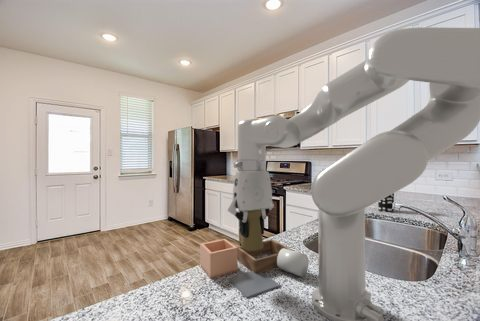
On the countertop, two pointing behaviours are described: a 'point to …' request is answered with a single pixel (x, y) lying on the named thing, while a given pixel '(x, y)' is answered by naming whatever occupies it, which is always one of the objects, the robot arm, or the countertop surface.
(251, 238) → the pepper shaker
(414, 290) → the countertop surface
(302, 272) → the white plastic tumbler
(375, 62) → the robot arm
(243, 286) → the slate coaster
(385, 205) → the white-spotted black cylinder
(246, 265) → the walnut open frame
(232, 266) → the copper open box
